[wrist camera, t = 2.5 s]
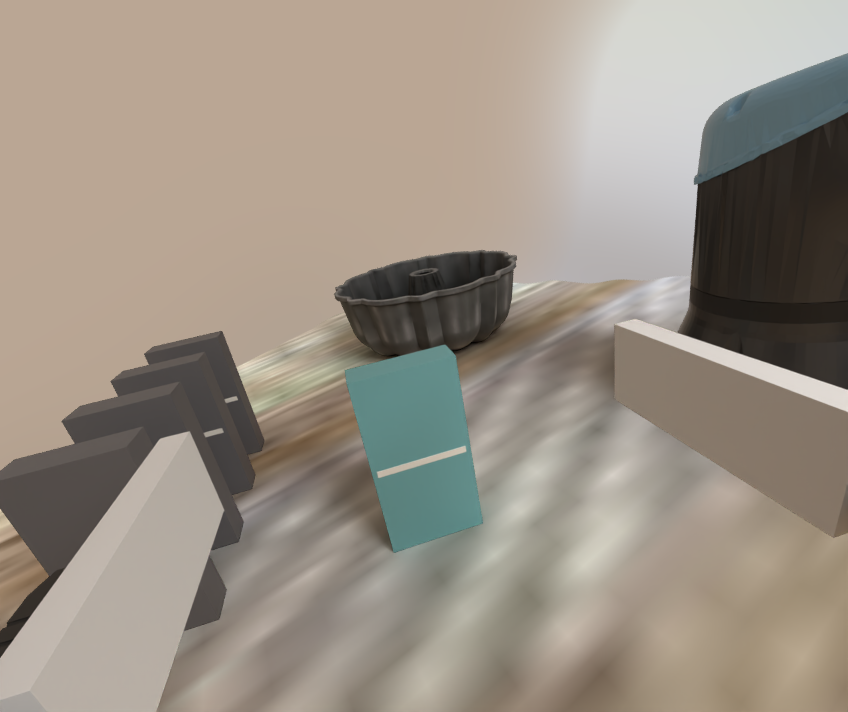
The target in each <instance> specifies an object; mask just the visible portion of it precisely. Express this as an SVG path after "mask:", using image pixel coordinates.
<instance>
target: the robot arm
mask: <svg viewBox="0 0 848 712" xmlns="http://www.w3.org/2000/svg"><path fill="white" fill-rule="evenodd" d="M694 184H698V191H697V206H696V220H695V233H694V246H693V258H692V271H691V286H690V299H689V308H688V311H687V313H686V315H685V318H684V320H683V322H682V324H681V326H680V328H679V331H678V333H676V332H673V331H670V330H667V329H664V328H661V327H658V326H655V325H652V324H649V323H646V322H643V321H640V320H637V319H633V320H629V321H625V322H621V323H617V324H614V355H615V400H617V401H618V402H620V403H621V404H623V405H625V406H626V407H628V408H629V409H631V410H633V411H634V412H636V413H637V414H639V415H640V416H642V417H644V418H645V419H647V420H648V421H650V422H651V423H653V424H655V425H656V426H658V427H659V428H661V429H662V430H664V431H666V432H667V433H669V434H670V435H672V436H674V437H675V438H677V439H678V440H680V441H681V442H683V443H685V444H686V445H688V446H689V447H691V448H692V449H694V450H696V451H697V452H699V453H700V454H702V455H703V456H705V457H707V458H708V459H710V460H711V461H713V462H715V463H716V464H718V465H719V466H721V467H722V468H724V469H726V470H727V471H729V472H730V473H732V474H733V475H735V476H737V477H738V478H740V479H741V480H743V481H744V482H746V483H748V484H749V485H751V486H752V487H754V488H756V489H757V490H759V491H760V492H762V493H763V494H765V495H767V496H768V497H770V498H771V499H773V500H774V501H776V502H778V503H779V504H781V505H782V506H784V507H785V508H787V509H789V510H790V511H792V512H793V513H795V514H797V515H798V516H800V517H801V518H803V519H804V520H806V521H808V522H809V523H811V524H812V525H814V526H815V527H817V528H819V529H820V530H822V531H823V532H825V533H826V534H828V535H830V536H831V537H833V538H835V537H838V536H840V535H843V534H845V533H848V53H847V54H844V55H842V56H839V57H836V58H833V59H830V60H828V61H825V62H822V63H819V64H817V65H814V66H811V67H808V68H806V69H803V70H800V71H797V72H795V73H792V74H790V75H787V76H785V77H782V78H779V79H777V80H774V81H771V82H769V83H766V84H764V85H761V86H759V87H756V88H754V89H751V90H749V91H746V92H744V93H742V94H740V95H738V96H735V97H734V98H732V99H730V100H728V101H726V102H725V103H723V104H722V105H721V106H719V107H718V109H716V110H715V111H714V112H713V114H712V115H711V116H710V117H709V119H708V120H707V122H706V124H705V127H704V130H703V135H702V142H701V151H700V159H699V167H698V174H697V175H696V176H695V178H694ZM223 512H224V508H223V506H222V504H221V501H220V499H219V497H218V495H217V492H216V490H215V488H214V485H213V483H212V481H211V479H210V476H209V474H208V472H207V470H206V467H205V465H204V463H203V460H202V458H201V456H200V454H199V451H198V449H197V447H196V444H195V442H194V440H193V438H192V435H191V433H190V431H188V432H184V433H180V434H176V435H172V436H168V437H165V438H161V439H159V441H158V442H157V444H156V445H155V446H154V448H153V449H152V450H151V452H150V453H149V455H148V456H147V457H146V459H145V460H144V461H143V463H142V464H141V466H140V467H139V468H138V470H137V471H136V472H135V474H134V475H133V476H132V478H131V479H130V481H129V482H128V483H127V485H126V486H125V487H124V489H123V490H122V492H121V493H120V494H119V496H118V497H117V498H116V500H115V501H114V503H113V504H112V505H111V507H110V508H109V509H108V511H107V512H106V514H105V515H104V516H103V518H102V519H101V520H100V522H99V523H98V525H97V526H96V527H95V529H94V530H93V531H92V533H91V534H90V536H89V537H88V538H87V540H86V541H85V542H84V544H83V545H82V546H81V548H80V549H79V551H78V552H77V553H76V555H75V556H74V557H73V559H72V560H71V562H70V563H69V564H68V566H67V567H66V568H62V569H59V570H56V571H55V572H54V573H53V574H52V575H51V576H49V577H48V578H47V579H46V580H45V581H44V582H43V583H42V584H40V585H39V586H38V587H37V588H36V589H35V590H34V591H33V592H32V593H30V594H29V595H28V596H27V597H26V599H25V600H24V601H23V603H22V604H21V605H20V607H19V608H18V609H17V610H16V612H15V613H14V614H13V616H12V617H11V618H10V619H9V621H8V622H7V627H6V628H3V629H2V630H1V631H0V712H156V711H157V708H158V705H159V702H160V700H161V697H162V694H163V691H164V688H165V685H166V682H167V679H168V676H169V673H170V670H171V667H172V664H173V661H174V658H175V655H176V652H177V649H178V646H179V643H180V640H181V637H182V634H183V631H184V628H185V625H186V622H187V619H188V616H189V613H190V610H191V607H192V604H193V601H194V598H195V595H196V592H197V589H198V586H199V583H200V580H201V577H202V574H203V571H204V569H205V566H206V563H207V560H208V557H209V554H210V551H211V548H212V545H213V542H214V539H215V536H216V533H217V530H218V527H219V524H220V521H221V518H222V515H223Z"/></svg>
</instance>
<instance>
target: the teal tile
mask: <svg viewBox="0 0 848 712" xmlns="http://www.w3.org/2000/svg"><path fill="white" fill-rule="evenodd" d="M345 375H346V383H347V387H348V390H349V394H350V398H351V401H352V405H353V408H354V412H355V415H356V419H357V423H358V426H359V430H360V433H361V437H362V440H363V444H364V448H365V451H366V455H367V458H368V462H369V466H370V469H371V473H372V476H373V480H374V483H375V487H376V491H377V494H378V498H379V501H380V505H381V508H382V512H383V516H384V519H385V523H386V526H387V530H388V533H389V537H390V541H391V544H392V548H393V551H394V552H397V551H401V550H404V549H407V548H410V547H413V546H416V545H419V544H422V543H425V542H428V541H431V540H434V539H437V538H440V537H443V536H446V535H449V534H452V533H455V532H458V531H461V530H464V529H467V528H470V527H473V526H476V525H479V524H482V523H483V521H482V514H481V508H480V502H479V496H478V490H477V484H476V478H475V472H474V465H473V459H472V453H471V447H470V441H469V435H468V429H467V423H466V416H465V410H464V404H463V398H462V392H461V386H460V380H459V374H458V367H457V361H456V356H455V354H454V353H453V352H452V351H451V350H450V349H449V348H448V347H447V346H446V345H441V346H437V347H433V348H430V349H426V350H422V351H418V352H414V353H410V354H406V355H402V356H398V357H394V358H391V359H387V360H383V361H379V362H375V363H371V364H367V365H363V366H359V367H355V368H352V369H348V370H345Z"/></svg>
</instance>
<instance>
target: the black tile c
mask: <svg viewBox="0 0 848 712" xmlns="http://www.w3.org/2000/svg"><path fill="white" fill-rule="evenodd" d="M176 382H181V384H182V386H183V388H184V391H185V393H186V395H187V397H188V399H189V402H190V404H191V406H192V408H193V411H194V413H195V415H196V417H197V419H198V422H199V424H200V426H201V428H202V431H203V433H204V435H205V437H206V439H207V442H208V444H209V446H210V448H211V451H212V453H213V455H214V457H215V459H216V462H217V464H218V466H219V468H220V471H221V473H222V475H223V477H224V479H225V482H226V484H227V486H228V488H229V491H230V493H231V495H233V494H236V493H240V492H243V491H247V490H250V489H252V487H253V483H254V479H255V472H254V470H253V468H252V465H251V463H250V460H249V458H248V455H247V453H246V451H245V448H244V446H243V443H242V441H241V438H240V436H239V434H238V431H237V429H236V426H235V424H234V421H233V419H232V417H231V414H230V412H229V409H228V407H227V404H226V402H225V400H224V397H223V395H222V392H221V390H220V387H219V385H218V383H217V380H216V378H215V375H214V373H213V370H212V368H211V366H210V363H209V361H208V358H207V356H206V353H205V352H202V353H197V354H193V355H189V356H185V357H180V358H176V359H172V360H168V361H164V362H159V363H155V364H151V365H147V366H143V367H138V368H134V369H130V370H126V371H123V372H121V373H120V374H119V375H118V376H116V377H115V378H114V379H113V380H112V381H111V383H112V385H113V387H114V389H115V391H116V393H117V395H118V397H119V396H123V395H127V394H131V393H135V392H139V391H143V390H147V389H151V388H155V387H159V386H163V385H167V384H171V383H176Z"/></svg>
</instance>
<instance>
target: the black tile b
mask: <svg viewBox="0 0 848 712" xmlns="http://www.w3.org/2000/svg"><path fill="white" fill-rule="evenodd" d="M62 423H63V424H64V426H65V428H66V430H67V431H68V433H69V435H70V436H71V438H72V440H73V441H74V443H75V444H77V443H81V442H85V441H89V440H93V439H96V438H100V437H104V436H108V435H112V434H116V433H120V432H124V431H127V430H131V429H135V428H139V427H144V429H145V431H146V433H147V435H148V437H149V438H150V440H151V442H152V444H153V446H155V445H156V444H157V442H158V441H159V439H161V438H165V437H168V436H172V435H176V434H180V433H184V432H188V431H190V433H191V435H192V438H193V440H194V442H195V444H196V447H197V449H198V451H199V454H200V456H201V458H202V460H203V463H204V465H205V467H206V470H207V472H208V474H209V476H210V479H211V481H212V483H213V485H214V488H215V490H216V492H217V495H218V497H219V499H220V501H221V504H222V506H223V508H224V512H223V515H222V518H221V521H220V524H219V527H218V530H217V533H216V536H215V539H214V542H213V545H212V548H211V550H214V549H217V548H220V547H223V546H227V545H230V544H233V543H236V542H239V539H240V535H241V531H242V527H243V523H244V522H243V519H242V517H241V515H240V513H239V511H238V508H237V506H236V504H235V502H234V499H233V497H232V495H231V493H230V491H229V488H228V486H227V484H226V482H225V479H224V477H223V475H222V473H221V471H220V468H219V466H218V464H217V462H216V459H215V457H214V455H213V453H212V451H211V448H210V446H209V444H208V442H207V439H206V437H205V435H204V433H203V431H202V428H201V426H200V424H199V422H198V419H197V417H196V415H195V413H194V411H193V408H192V406H191V404H190V402H189V399H188V397H187V395H186V393H185V391H184V388H183V386H182V384H181V382H176V383H171V384H167V385H163V386H159V387H155V388H151V389H147V390H143V391H139V392H135V393H131V394H127V395H123V396H119V397H115V398H111V399H107V400H102V401H99V402H94V403H90V404H86V405H82V406H80V407H78V408H77V409H76V410H75V411H73V412H72V413H71V414H70V415H68V416H67V417H66V418H65V419H63V420H62Z"/></svg>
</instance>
